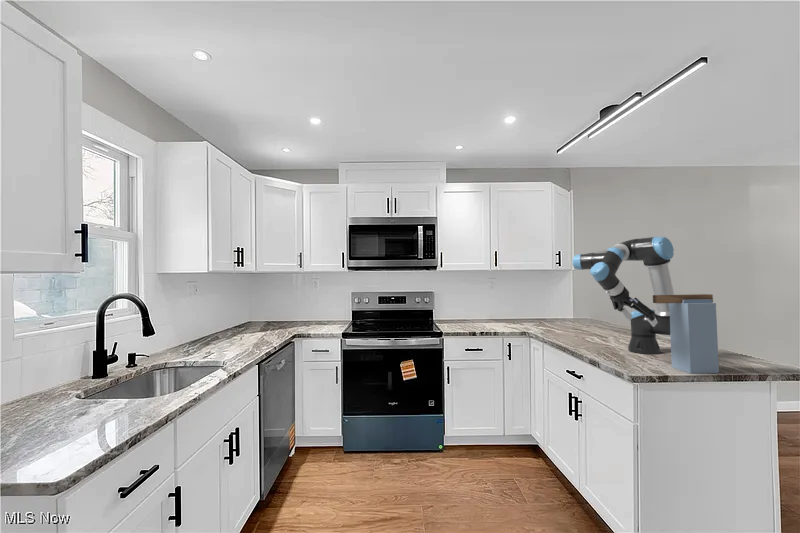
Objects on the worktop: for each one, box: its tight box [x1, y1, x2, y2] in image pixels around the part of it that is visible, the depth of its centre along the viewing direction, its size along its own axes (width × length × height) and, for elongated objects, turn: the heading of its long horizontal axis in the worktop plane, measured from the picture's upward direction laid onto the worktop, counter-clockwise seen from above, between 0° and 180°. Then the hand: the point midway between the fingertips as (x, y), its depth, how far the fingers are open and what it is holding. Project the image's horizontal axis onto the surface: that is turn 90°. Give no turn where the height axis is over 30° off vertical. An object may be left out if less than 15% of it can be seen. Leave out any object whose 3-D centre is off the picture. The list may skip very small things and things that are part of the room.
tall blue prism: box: [669, 299, 720, 374], centre depth 174 cm, size 12×12×32 cm
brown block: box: [652, 293, 714, 304], centre depth 174 cm, size 4×24×4 cm, turn 89°
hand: (642, 321), depth 181 cm, fingers open, 13 cm apart
